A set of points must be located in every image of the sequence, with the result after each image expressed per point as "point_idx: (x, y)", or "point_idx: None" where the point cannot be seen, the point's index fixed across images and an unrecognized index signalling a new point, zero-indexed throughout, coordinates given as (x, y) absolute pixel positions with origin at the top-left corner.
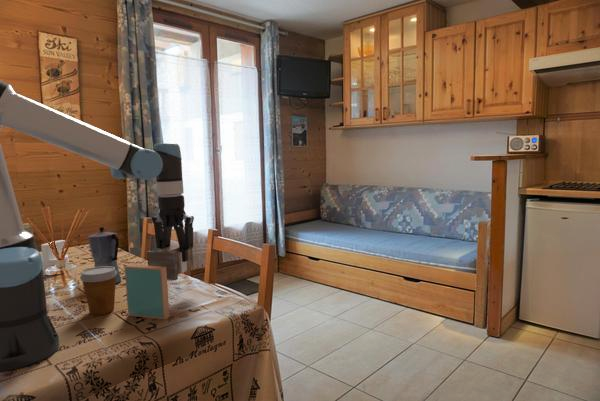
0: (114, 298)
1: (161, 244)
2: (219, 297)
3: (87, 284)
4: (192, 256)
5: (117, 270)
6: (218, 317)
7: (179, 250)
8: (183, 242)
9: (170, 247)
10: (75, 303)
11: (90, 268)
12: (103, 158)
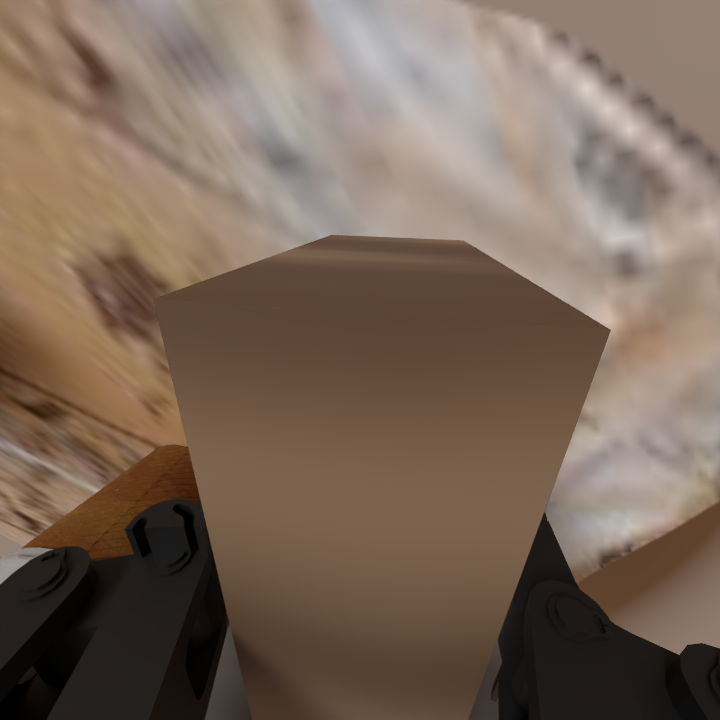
0: (189, 489)
1: (71, 664)
2: (626, 276)
3: None
4: (487, 257)
5: None
6: (668, 493)
7: (496, 697)
8: None
9: (316, 699)
10: (30, 428)
11: None
12: None
